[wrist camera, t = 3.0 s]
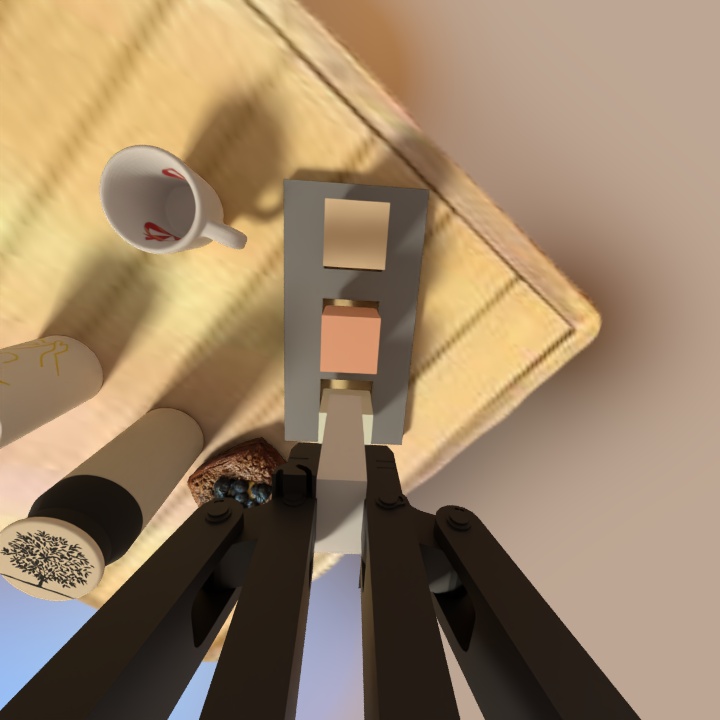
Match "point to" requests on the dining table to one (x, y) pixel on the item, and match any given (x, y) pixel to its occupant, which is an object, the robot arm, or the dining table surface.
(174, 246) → the cup
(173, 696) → the robot arm
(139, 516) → the travel mug
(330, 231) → the oak block
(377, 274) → the board
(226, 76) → the dining table surface
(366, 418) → the sage block
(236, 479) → the pastry
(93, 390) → the white cylindrical canister
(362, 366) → the terracotta block
